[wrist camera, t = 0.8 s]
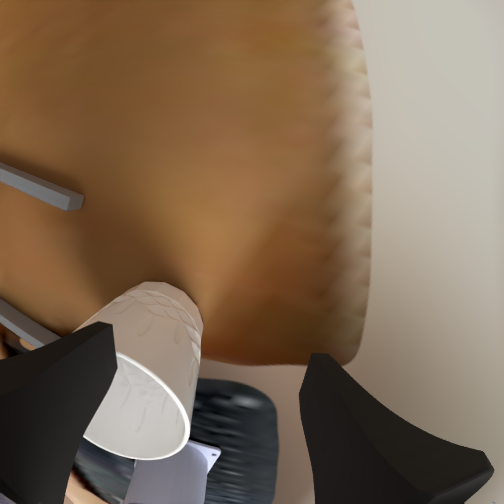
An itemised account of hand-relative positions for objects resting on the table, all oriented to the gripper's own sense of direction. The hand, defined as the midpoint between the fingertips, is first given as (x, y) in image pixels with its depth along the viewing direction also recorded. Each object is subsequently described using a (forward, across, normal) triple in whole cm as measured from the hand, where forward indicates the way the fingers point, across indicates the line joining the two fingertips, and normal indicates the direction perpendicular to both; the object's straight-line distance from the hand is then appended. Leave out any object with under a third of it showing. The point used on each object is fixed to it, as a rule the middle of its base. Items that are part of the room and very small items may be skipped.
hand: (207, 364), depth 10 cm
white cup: (+10, +5, +5) cm, 12 cm away
